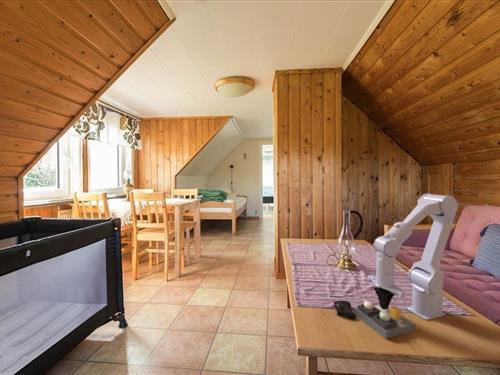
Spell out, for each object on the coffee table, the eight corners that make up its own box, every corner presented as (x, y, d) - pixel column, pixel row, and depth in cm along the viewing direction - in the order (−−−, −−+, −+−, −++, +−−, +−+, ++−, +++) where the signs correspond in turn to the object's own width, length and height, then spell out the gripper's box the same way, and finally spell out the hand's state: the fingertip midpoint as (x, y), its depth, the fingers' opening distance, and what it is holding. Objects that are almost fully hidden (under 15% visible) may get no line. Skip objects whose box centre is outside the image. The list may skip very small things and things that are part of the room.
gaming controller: (358, 318, 87) (345, 305, 88) (346, 327, 88) (334, 315, 88) (351, 303, 97) (340, 292, 97) (341, 312, 98) (330, 301, 98)
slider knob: (394, 314, 85) (395, 306, 85) (400, 318, 83) (401, 310, 83) (389, 315, 85) (389, 307, 84) (395, 319, 82) (395, 311, 82)
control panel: (380, 308, 94) (380, 298, 94) (414, 331, 81) (415, 319, 81) (354, 314, 91) (354, 304, 90) (386, 339, 77) (386, 327, 77)
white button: (368, 305, 90) (368, 300, 90) (375, 309, 87) (375, 304, 87) (362, 306, 89) (362, 301, 89) (368, 311, 86) (368, 306, 86)
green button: (384, 316, 83) (384, 310, 83) (392, 321, 80) (392, 315, 80) (377, 317, 82) (377, 312, 82) (384, 322, 79) (385, 317, 79)
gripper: (361, 265, 93) (360, 299, 94) (394, 281, 79) (392, 322, 80) (376, 262, 95) (375, 296, 96) (410, 278, 81) (409, 318, 82)
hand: (384, 308), depth 88 cm, fingers closed
